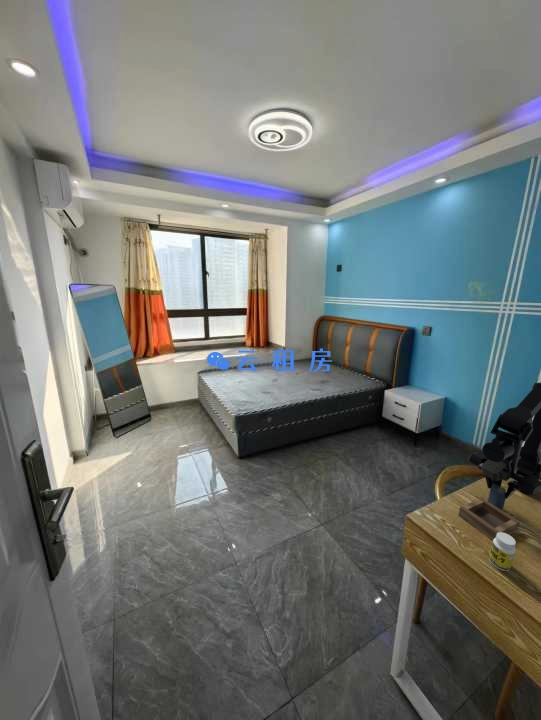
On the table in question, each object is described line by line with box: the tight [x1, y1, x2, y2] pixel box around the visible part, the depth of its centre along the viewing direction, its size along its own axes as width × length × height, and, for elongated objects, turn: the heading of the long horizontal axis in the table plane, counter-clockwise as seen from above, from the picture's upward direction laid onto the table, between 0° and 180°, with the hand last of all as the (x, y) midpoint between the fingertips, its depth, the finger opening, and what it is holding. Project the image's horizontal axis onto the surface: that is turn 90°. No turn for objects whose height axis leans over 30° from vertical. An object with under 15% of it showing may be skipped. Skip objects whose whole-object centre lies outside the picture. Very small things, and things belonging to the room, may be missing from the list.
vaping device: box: [487, 480, 507, 511], centre depth 95 cm, size 3×5×12 cm, turn 174°
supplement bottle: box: [488, 532, 517, 572], centre depth 77 cm, size 5×5×8 cm
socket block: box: [458, 497, 520, 541], centre depth 90 cm, size 11×11×3 cm
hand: (497, 493), depth 96 cm, fingers closed on vaping device, 5 cm apart
